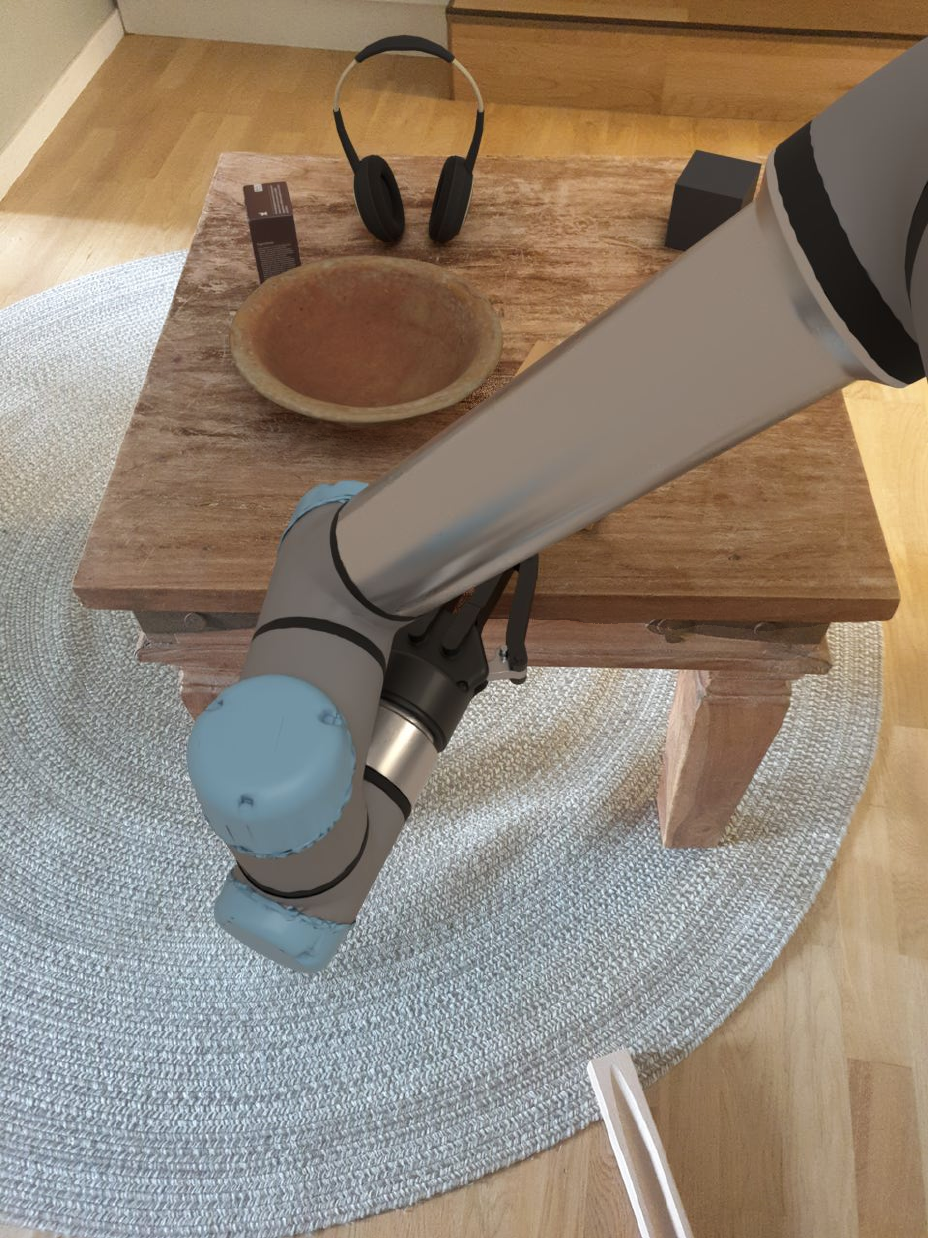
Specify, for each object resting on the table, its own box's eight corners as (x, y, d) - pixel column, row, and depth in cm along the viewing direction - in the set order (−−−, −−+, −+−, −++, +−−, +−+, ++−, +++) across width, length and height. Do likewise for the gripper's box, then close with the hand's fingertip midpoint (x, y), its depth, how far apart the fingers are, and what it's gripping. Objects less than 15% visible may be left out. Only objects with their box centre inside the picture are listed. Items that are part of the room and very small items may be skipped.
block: (746, 226, 100) (762, 163, 95) (728, 261, 97) (743, 198, 91) (684, 211, 102) (696, 148, 96) (664, 245, 99) (675, 183, 93)
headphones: (483, 260, 98) (482, 59, 81) (345, 258, 99) (316, 59, 82) (486, 214, 103) (486, 15, 86) (354, 212, 103) (329, 15, 87)
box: (314, 325, 92) (293, 213, 82) (269, 332, 92) (243, 221, 82) (307, 289, 96) (286, 177, 86) (263, 295, 95) (237, 184, 85)
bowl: (526, 463, 81) (530, 393, 75) (255, 504, 79) (234, 436, 72) (475, 298, 94) (474, 226, 88) (242, 330, 92) (223, 259, 86)
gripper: (312, 718, 64) (457, 488, 76) (482, 791, 61) (607, 538, 73) (293, 661, 58) (455, 420, 70) (482, 738, 55) (618, 471, 67)
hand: (532, 480), depth 71 cm, fingers closed
